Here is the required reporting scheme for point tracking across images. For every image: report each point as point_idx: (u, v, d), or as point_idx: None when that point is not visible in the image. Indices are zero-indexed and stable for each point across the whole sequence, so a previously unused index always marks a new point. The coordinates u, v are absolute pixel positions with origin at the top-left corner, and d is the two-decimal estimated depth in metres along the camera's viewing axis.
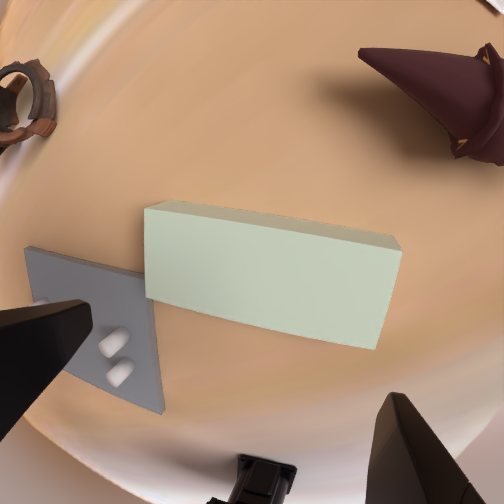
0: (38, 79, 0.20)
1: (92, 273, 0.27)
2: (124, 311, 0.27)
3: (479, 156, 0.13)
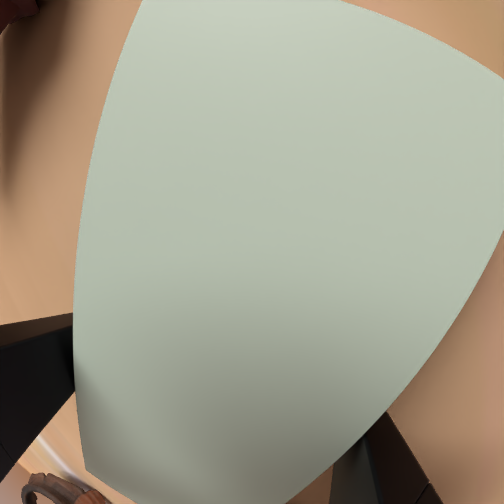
0: (36, 485, 0.16)
1: None
2: None
3: None
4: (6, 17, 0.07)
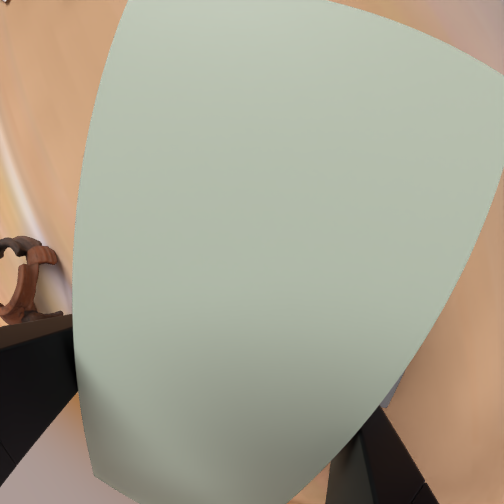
0: (1, 240, 0.23)
1: None
2: None
3: None
4: None
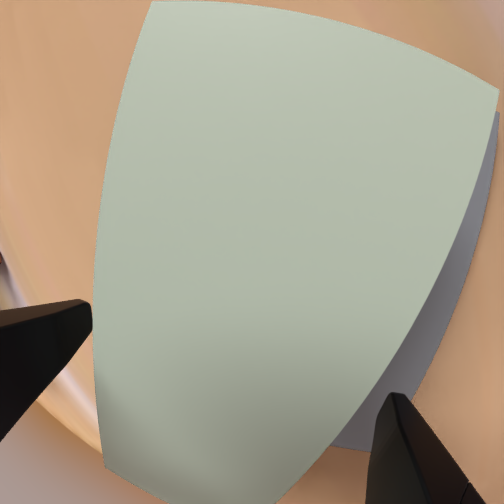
0: None
1: None
2: None
3: None
4: None
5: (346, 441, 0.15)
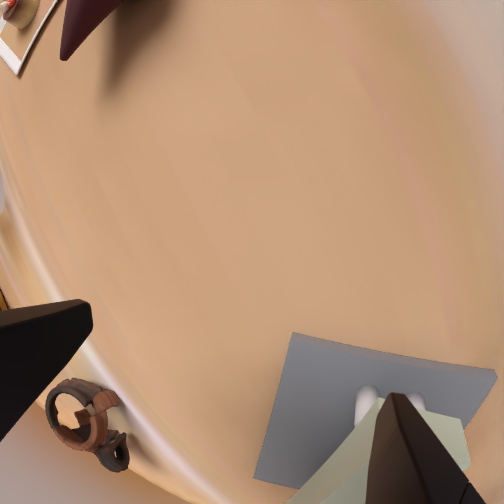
0: (61, 386, 0.26)
1: (282, 406, 0.22)
2: (334, 382, 0.20)
3: None
4: None
5: None
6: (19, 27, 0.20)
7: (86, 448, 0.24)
